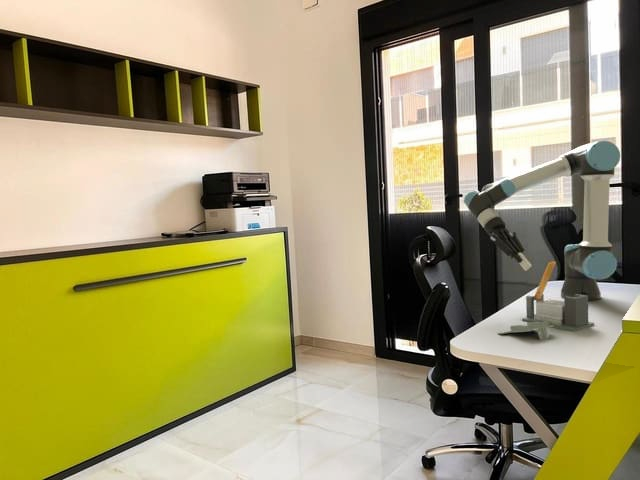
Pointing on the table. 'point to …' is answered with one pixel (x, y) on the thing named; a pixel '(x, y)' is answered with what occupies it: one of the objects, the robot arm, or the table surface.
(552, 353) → the table surface
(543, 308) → the heat sink
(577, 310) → the slotted lug
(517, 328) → the metal bracket
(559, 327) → the grey green railed plate
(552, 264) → the strap
